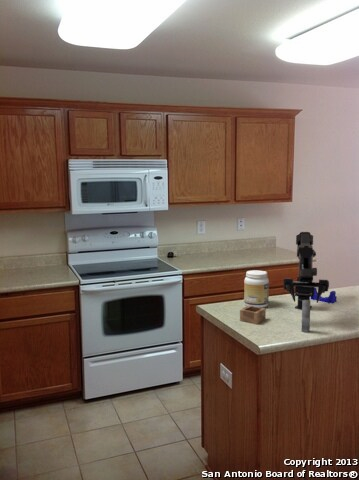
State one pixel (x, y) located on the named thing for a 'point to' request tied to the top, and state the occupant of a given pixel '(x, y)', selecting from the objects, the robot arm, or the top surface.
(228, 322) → the top surface
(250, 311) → the walnut square holder
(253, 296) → the supplement tub
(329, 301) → the cable clip
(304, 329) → the slate dowel
